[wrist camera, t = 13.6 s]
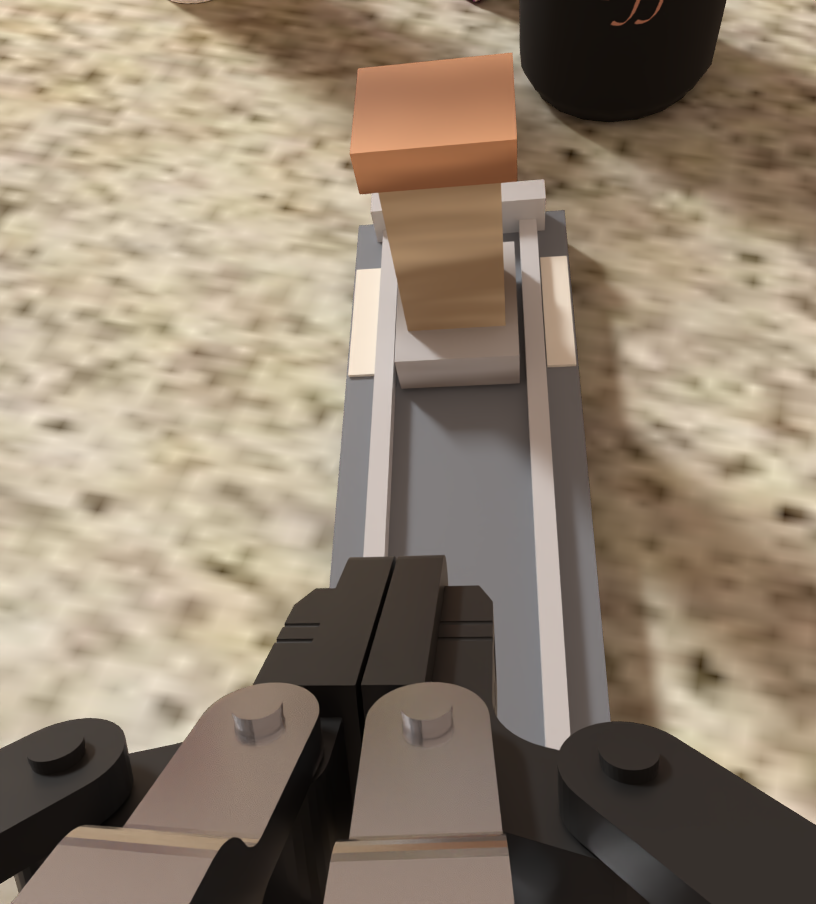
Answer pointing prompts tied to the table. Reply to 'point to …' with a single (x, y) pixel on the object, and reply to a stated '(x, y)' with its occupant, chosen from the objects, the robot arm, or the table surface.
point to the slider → (444, 212)
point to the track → (486, 476)
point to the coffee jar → (617, 53)
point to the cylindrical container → (189, 1)
